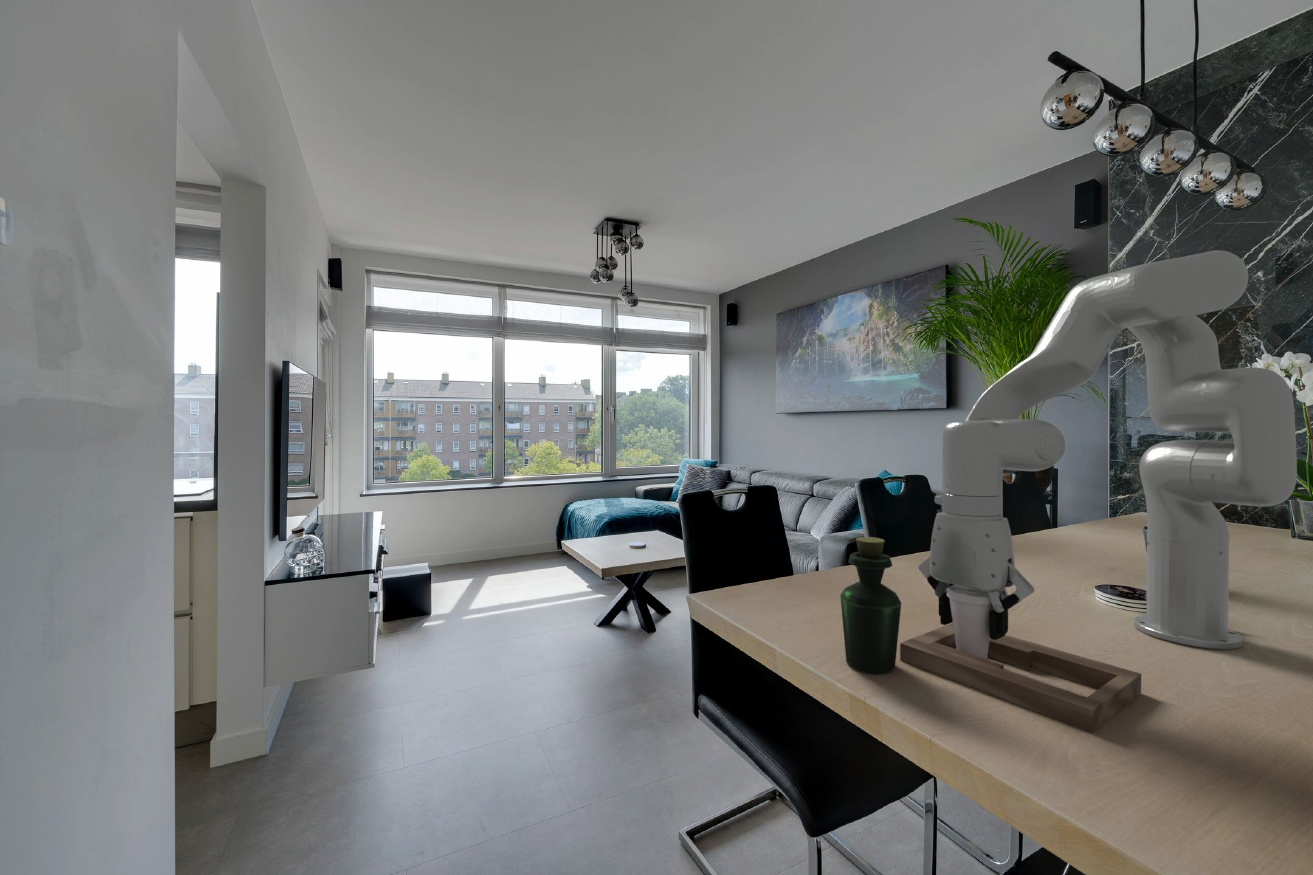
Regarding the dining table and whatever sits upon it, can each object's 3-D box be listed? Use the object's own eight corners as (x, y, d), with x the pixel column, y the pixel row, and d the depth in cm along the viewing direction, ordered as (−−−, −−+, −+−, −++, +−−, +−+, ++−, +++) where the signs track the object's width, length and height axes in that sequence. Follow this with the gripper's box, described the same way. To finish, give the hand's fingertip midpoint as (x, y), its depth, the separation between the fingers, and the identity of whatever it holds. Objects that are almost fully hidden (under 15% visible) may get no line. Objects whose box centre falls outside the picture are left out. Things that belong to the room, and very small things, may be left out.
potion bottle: (902, 658, 80) (902, 536, 79) (900, 682, 72) (900, 547, 72) (844, 649, 83) (843, 532, 83) (836, 670, 76) (836, 542, 76)
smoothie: (1005, 668, 75) (1005, 567, 75) (955, 664, 76) (954, 565, 76) (987, 649, 81) (986, 556, 81) (940, 647, 83) (940, 555, 83)
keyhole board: (957, 636, 88) (957, 621, 88) (1141, 693, 69) (1141, 673, 69) (900, 659, 79) (900, 642, 79) (1092, 732, 60) (1092, 710, 60)
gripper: (901, 502, 84) (901, 618, 84) (1027, 516, 69) (1027, 656, 70) (928, 498, 88) (928, 608, 88) (1052, 511, 73) (1052, 643, 74)
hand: (972, 628), depth 79 cm, fingers closed on smoothie, 6 cm apart
